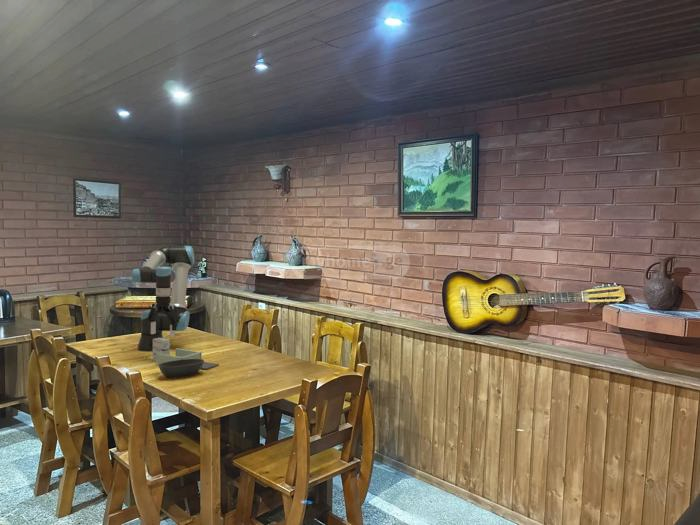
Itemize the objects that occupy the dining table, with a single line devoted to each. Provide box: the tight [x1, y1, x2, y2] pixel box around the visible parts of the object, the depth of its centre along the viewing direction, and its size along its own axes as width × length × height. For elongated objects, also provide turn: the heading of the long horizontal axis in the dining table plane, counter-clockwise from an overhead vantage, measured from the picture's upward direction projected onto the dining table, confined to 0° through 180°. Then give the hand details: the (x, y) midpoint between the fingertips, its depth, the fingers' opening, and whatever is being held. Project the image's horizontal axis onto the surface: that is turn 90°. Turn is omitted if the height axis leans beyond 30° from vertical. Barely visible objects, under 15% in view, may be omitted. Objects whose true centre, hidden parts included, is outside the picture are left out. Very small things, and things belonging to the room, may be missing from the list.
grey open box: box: [156, 348, 203, 366], centre depth 262 cm, size 17×14×6 cm
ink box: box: [152, 337, 171, 362], centre depth 269 cm, size 8×5×12 cm, turn 59°
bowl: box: [157, 358, 205, 379], centre depth 243 cm, size 12×22×6 cm, turn 128°
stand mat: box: [200, 361, 220, 371], centre depth 259 cm, size 10×10×1 cm
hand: (162, 335), depth 266 cm, fingers open, 13 cm apart
